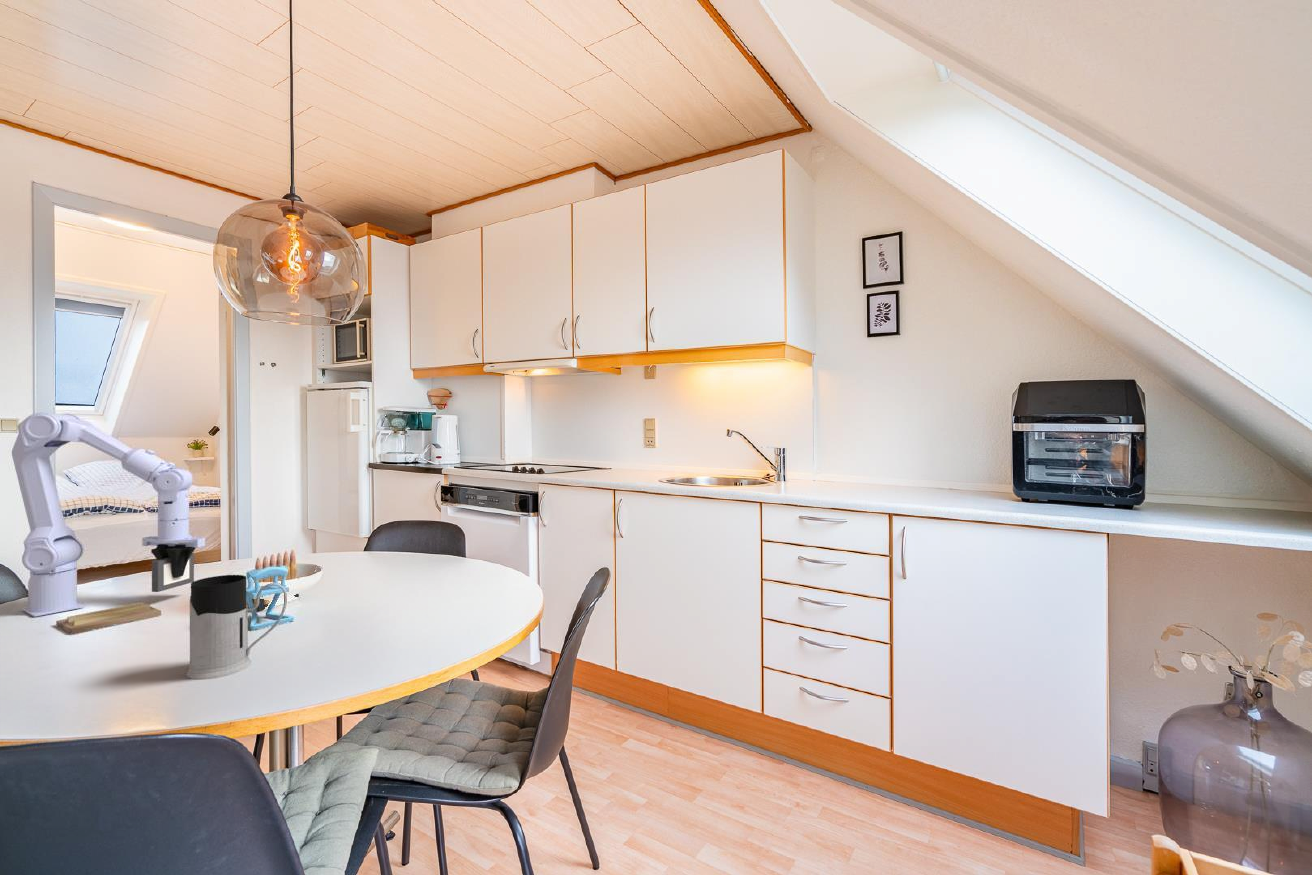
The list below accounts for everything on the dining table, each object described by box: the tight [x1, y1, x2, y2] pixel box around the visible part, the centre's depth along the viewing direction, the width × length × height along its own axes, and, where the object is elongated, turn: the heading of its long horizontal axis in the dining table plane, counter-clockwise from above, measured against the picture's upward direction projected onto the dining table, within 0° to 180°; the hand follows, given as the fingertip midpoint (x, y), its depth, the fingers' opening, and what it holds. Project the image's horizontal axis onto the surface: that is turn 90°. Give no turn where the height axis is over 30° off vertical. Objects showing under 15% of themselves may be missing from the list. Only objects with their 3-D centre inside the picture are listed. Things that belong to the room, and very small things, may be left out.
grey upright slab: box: [151, 552, 195, 593], centre depth 136 cm, size 2×9×7 cm, turn 174°
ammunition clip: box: [252, 549, 300, 613], centre depth 133 cm, size 11×2×12 cm, turn 165°
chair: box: [245, 564, 295, 631], centre depth 121 cm, size 8×8×12 cm
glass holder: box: [186, 574, 288, 680], centre depth 98 cm, size 9×14×15 cm, turn 111°
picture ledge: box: [55, 601, 162, 635], centre depth 122 cm, size 10×14×2 cm
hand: (173, 576), depth 136 cm, fingers closed on grey upright slab, 2 cm apart
